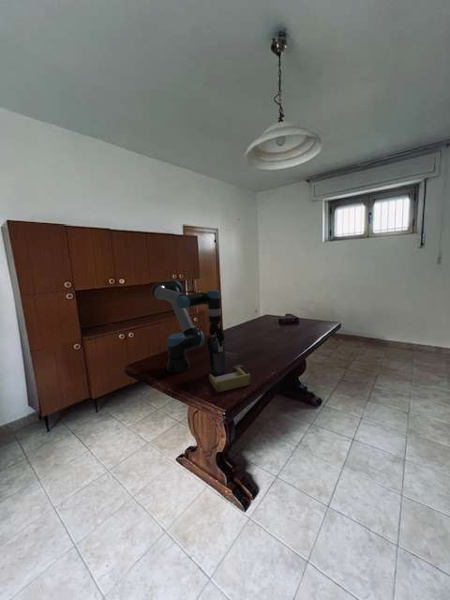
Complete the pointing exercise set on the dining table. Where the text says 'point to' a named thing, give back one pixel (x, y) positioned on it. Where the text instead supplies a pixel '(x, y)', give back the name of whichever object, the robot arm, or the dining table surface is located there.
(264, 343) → the dining table surface
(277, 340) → the dining table surface
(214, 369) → the beverage bottle
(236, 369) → the gray rectangular block
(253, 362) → the dining table surface
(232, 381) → the dock bay
